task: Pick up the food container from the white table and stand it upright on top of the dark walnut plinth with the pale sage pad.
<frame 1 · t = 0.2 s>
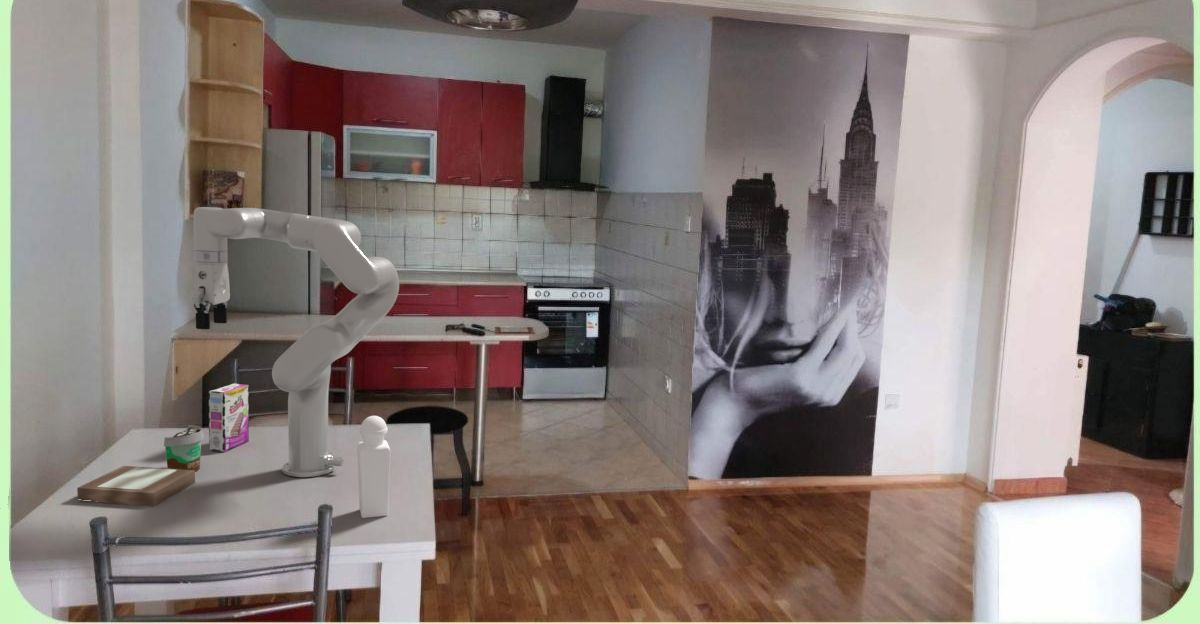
hand: (211, 325, 214), 36 cm above the table, tool pointing down, fingers open, 9 cm apart
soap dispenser: (373, 513, 190), on the table
plinth: (138, 491, 198), on the table
candy bar box: (230, 446, 234), on the table
food container: (190, 471, 213), on the table
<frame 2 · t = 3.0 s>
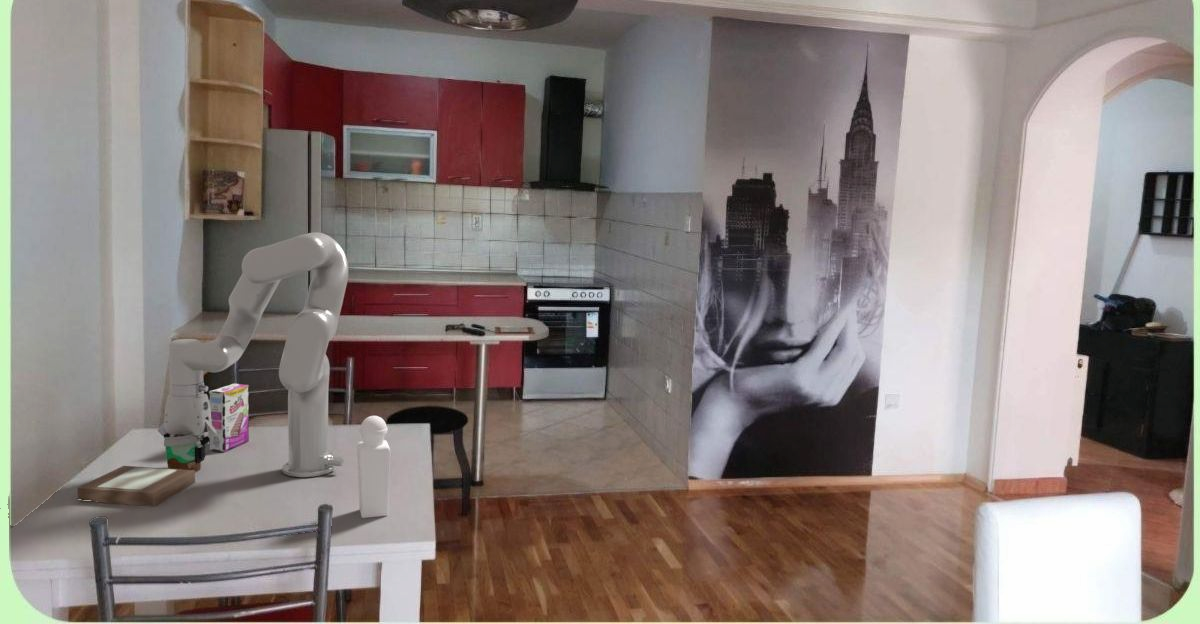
hand: (188, 459, 213), 3 cm above the table, tool pointing down, fingers closed on food container, 5 cm apart
food container: (191, 471, 213), on the table, touching gripper
everything else where it was.
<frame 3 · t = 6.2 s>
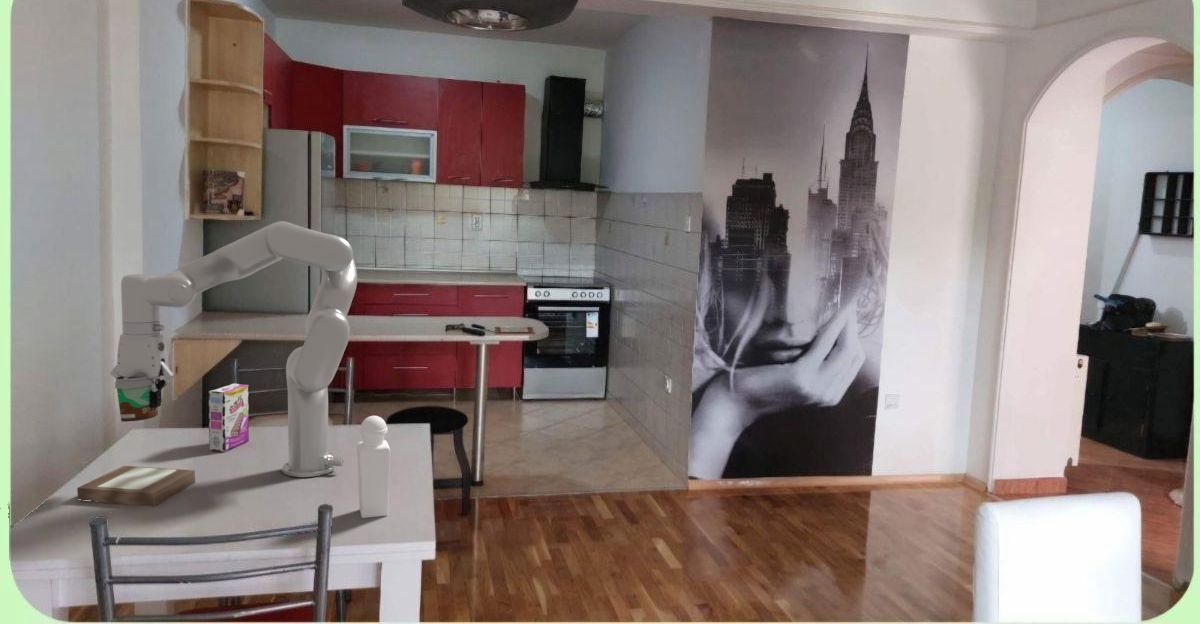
hand: (143, 405, 197), 20 cm above the table, tool pointing down, fingers closed on food container, 5 cm apart
food container: (146, 417, 198), point 17 cm above the table, touching gripper
everything else where it was.
when the fingers open (7 cm above the table, at t = 9.3 s): food container stays where it is, resting on plinth.
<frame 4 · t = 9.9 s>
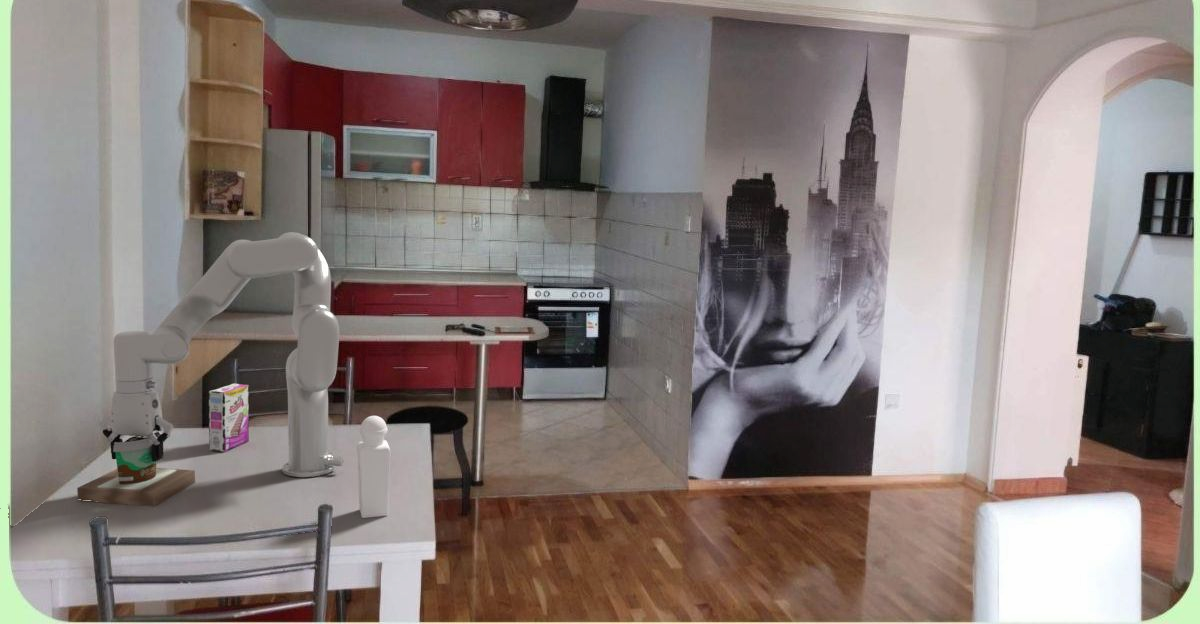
hand: (137, 458, 197), 8 cm above the table, tool pointing down, fingers open, 9 cm apart
food container: (144, 478, 197), point 3 cm above the table, touching gripper, plinth
everything else where it was.
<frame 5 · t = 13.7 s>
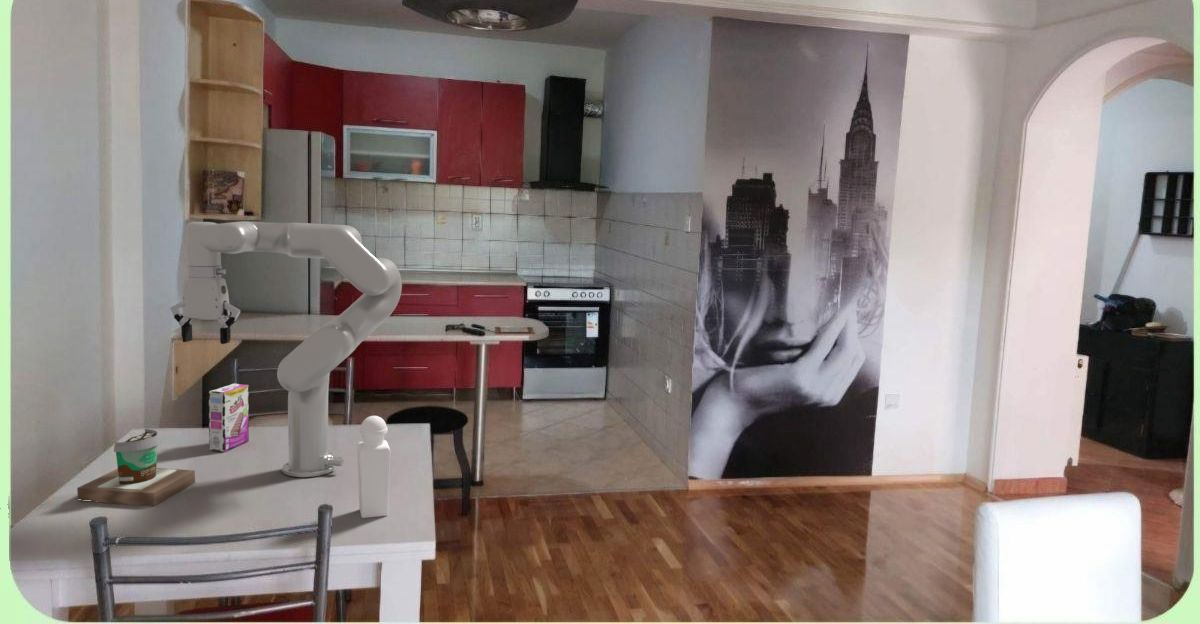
hand: (206, 342, 210), 32 cm above the table, tool pointing down, fingers open, 9 cm apart
food container: (144, 478, 197), point 3 cm above the table, touching plinth
everything else where it was.
at the end: food container inside the target area on the plinth (1.5 cm from its centre), point 3.0 cm above the plinth's base; food container tilted 0°; the gripper is holding nothing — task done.
